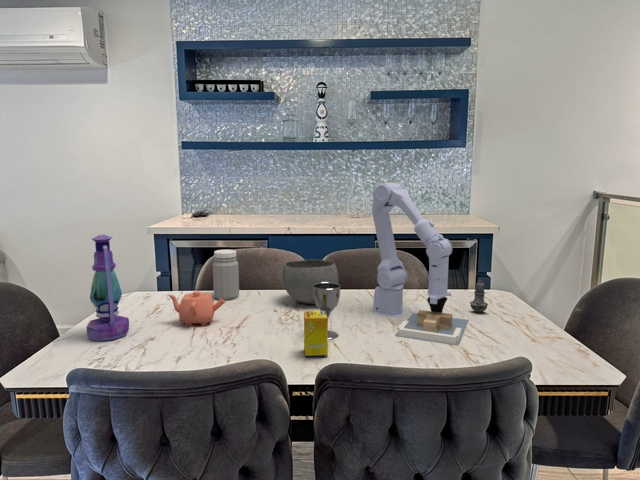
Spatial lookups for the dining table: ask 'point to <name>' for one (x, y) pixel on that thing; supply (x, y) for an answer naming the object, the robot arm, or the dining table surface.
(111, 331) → the lantern
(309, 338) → the supplement box
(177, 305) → the teapot
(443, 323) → the t block
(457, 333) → the dock
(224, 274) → the jar
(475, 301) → the salt shaker
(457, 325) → the board
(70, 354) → the dining table surface
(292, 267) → the bowl
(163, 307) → the dining table surface
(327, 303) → the silver goblet
